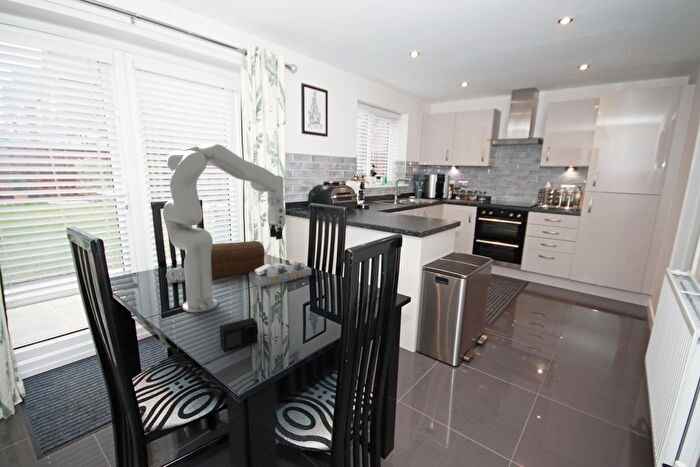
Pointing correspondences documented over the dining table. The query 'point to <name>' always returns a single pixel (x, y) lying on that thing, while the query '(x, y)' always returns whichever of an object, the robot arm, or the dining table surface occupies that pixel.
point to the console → (279, 275)
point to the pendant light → (177, 274)
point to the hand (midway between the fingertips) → (276, 237)
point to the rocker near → (263, 269)
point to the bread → (236, 258)
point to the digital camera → (238, 334)
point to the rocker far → (297, 263)
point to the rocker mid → (281, 266)
